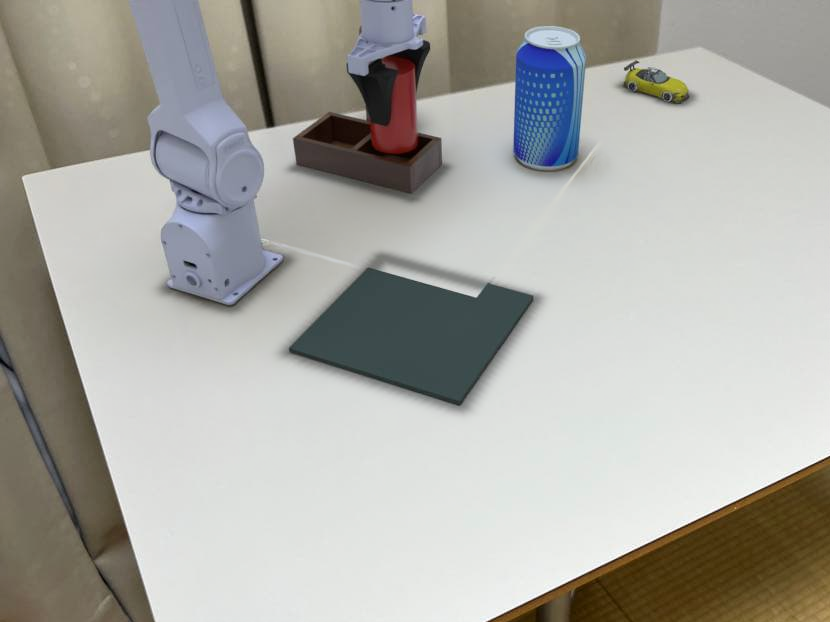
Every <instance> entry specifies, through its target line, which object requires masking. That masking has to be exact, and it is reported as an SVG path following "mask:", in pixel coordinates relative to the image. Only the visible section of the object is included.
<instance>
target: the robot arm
mask: <svg viewBox="0 0 830 622" xmlns="http://www.w3.org/2000/svg"><path fill="white" fill-rule="evenodd" d="M127 1H128V5H129V8H130V12H131V14H132V17H133V20H134V24H135V27H136V31H137V35H138V37H139V40H140V44H141V46H142V49H143V53H144V56H145V59H146V62H147V66H148V70H149V72H150V76H151V78H152V83H153V85H154V89H155V91H156V95H157V98H158V101H159V104H158V105H156V107H154V109H153V110H152V111H151V112H150V113H149V114H148V115H147V117H146V120H147V123H148V126H149V130H150V144H149V145H150V146H149V157H150V161H151V165H152V167H153V168H154V171H156V172H157V174H159V175H160V176H161V177H163V178H165V179H166V180H169V184H170V188H171V191H172V192H173V193H174V195H175V199H176V203H175V208H174V210H173V213H172V215H171V216H170V217H169V219H168V220H167V221H166V222H165V223H164V224H163V226H162V227H161V230H160V241H161V244H162V245H161V246H162V248H163V252H164V255H165V260H166V263H167V266H168V270H169V273H170V278H169V279H168V280H167V281H166V285H167V287H168V288H170V289H174V290H177V291H181V292H184V293H188V294H191V295H194V296H198V297H200V298H203V299H207V300H211V301H213V302H217V303H220V304H224V305H227V306H232V305H234V304H236V303H237V302H238V301H239V300H240V299H241V298H242V297H243V296H244V295H245V294H246V293H249V291H250V290H251V289H252V288H254V286H256V285H257V284H258V283H259V282H260V281H261V280H263V278H265V277H266V276H267V275H268V274H269V273H270V272H271V271H272V270H274V269H275V268H276V267H277V266H278V265H279V264H280V263H282V262H283V261H284V257H283V255H281V254H278V253H275V252H272V251H268V250H266V249H264V247H263V242H262V237H261V232H260V226H259V220H258V215H257V210H256V205H255V200H256V199H257V197H258V193H259V192H260V190H261V188H262V185H263V182H264V178H265V163H264V159H263V156H262V154H261V153H260V151H259V150H258V149H257V148H256V147H255V146H254V144H253V143H252V141H251V139H250V136H249V132H248V128H247V126H246V124H245V123H244V122H243V121H242V120H241V119H240V117H239V116H238V115H237V114H236V112H235V111H234V110H233V109H232V108H231V107H230V105H229V104H228V103H227V102H226V100H225V99H224V96H223V92H222V89H221V85H220V81H219V76H218V73H217V69H216V65H215V61H214V57H213V53H212V50H211V45H210V41H209V38H208V34H207V33H208V32H207V30H206V26H205V22H204V18H203V15H202V10H201V6H200V2H199V0H127ZM358 2H359V12H360V13H359V14H360V26H361V27H362V32H361V34H360V36H358V38H357V41H356V42H355V44H354V47H353V49H352V50H351V52H349V53H348V54H347V55H346V58H347V59H346V60H347V62H346V73H347V74H348V75H349V77H350V78H351V79H352V81H353V82H354V83H355V85H356V87H357V89H358V91H359V92H360V94H361V98H363V101H364V105H366V106H365V109H366V108H367V110H368V113H369V116H370V119H371V122H372V123H374V124H379V125H383V126H388V125H389V124H390V119H391V103H392V92H393V87H394V83H395V79H396V77H397V74H398V72H399V71H398V70H395V69H391V68H386V67H385V64H382V59H383V58H384V57H385V56H386V57H387V56H393V57H401V58H405V59H408V60H410V61H412V62H413V63H414V65H415V80H416V93H417V91H418V87H419V81H420V77H421V73H422V69H423V67H424V65H425V61H426V59H427V57H428V55H429V53H430V52H431V42H430V41H428V40H426V39H423V37H419V36H423V35H425V34H426V33H427V25H426V24H427V23H426V21H427V20H426V16H425V15H422V14H416V13H413V12H414V9H413V0H358Z"/></svg>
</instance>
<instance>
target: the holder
mask: <svg viewBox="0 0 830 622" xmlns="http://www.w3.org/2000/svg"><path fill="white" fill-rule="evenodd" d="M442 140H443V139H442V137H438V136H435V135H431V134H425V133H423V132H418V145H417V147H416V148H415V149H413V150H412V151H409V152H406V153H400V154H389V153H384V152H380V151H378V150H376V149H375V148H374V147H373V146H372V141H371V129H370V121H367V119H362V118H358V117H354V116H349V115H345V114H341V113H337V112H333V111H328V112H327V113H325V114H324V115H323V116H321V117H319V119H317V120H316V121H315V122H313V123H311V124H310V125H309V126H307V127H306V128H304V129H303V130H302V131H300V132H299V133H297V135H295V136H294V137H292V143H293V149H294V156H295V163H296V164H295V165H296V166H299V167H304V168H308V169H311V170H314V171H320V172H322V173H326V174H331V175H335V176H337V177H338V176H339V177H342V178H347V179H351V180H354V181H358V182H362V183H366V184H370V185H374V186H378V187H382V188H386V189H390V190H394V191H398V192H401V193H405V194H410V195H412V194H413V193H414V192H415V191H416V190H417V189H418V188H420V186H421V185H422V184H423V183H425V181H426V180H428V179H429V177H431V176H432V175H433V174H434V173H435V172H437V170H438V169H439V168H440V167H441V166H442V165H443V146H442V145H443V144H442Z"/></svg>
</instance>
